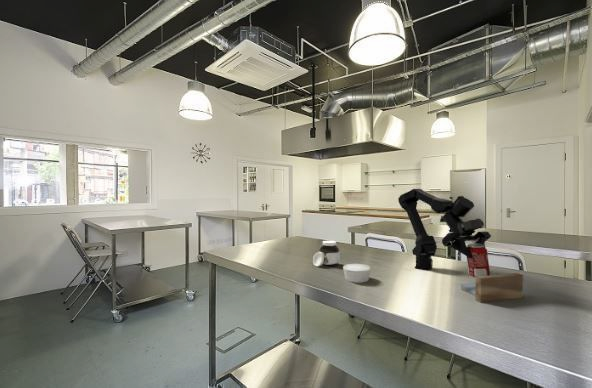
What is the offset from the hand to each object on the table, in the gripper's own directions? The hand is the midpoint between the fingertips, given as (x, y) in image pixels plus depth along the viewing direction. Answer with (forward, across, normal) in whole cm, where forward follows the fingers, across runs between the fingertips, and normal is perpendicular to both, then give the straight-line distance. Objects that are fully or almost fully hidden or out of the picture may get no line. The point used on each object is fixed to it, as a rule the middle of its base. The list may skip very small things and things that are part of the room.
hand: (479, 257), depth 101 cm
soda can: (+5, +1, +6) cm, 8 cm away
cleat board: (+11, 0, +7) cm, 13 cm away
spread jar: (-23, -44, +41) cm, 65 cm away
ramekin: (-7, -39, +25) cm, 46 cm away
